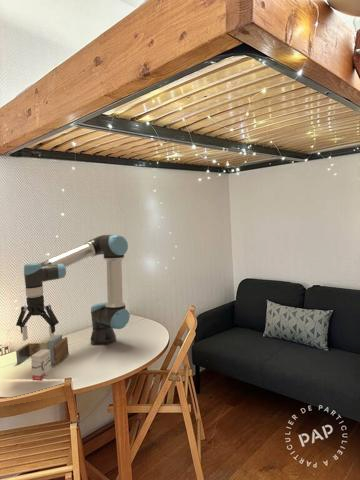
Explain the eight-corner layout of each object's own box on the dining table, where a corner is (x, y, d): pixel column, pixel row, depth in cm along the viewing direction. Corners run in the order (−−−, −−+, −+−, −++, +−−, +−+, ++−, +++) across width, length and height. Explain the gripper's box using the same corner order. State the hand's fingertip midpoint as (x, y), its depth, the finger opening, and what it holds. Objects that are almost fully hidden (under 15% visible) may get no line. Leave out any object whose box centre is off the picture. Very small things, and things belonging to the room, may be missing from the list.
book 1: (57, 356, 179) (55, 336, 178) (49, 363, 171) (47, 342, 170) (50, 356, 180) (48, 337, 179) (41, 363, 171) (39, 343, 170)
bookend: (30, 356, 181) (28, 344, 181) (20, 364, 172) (18, 350, 172) (27, 356, 181) (26, 344, 181) (17, 364, 173) (16, 351, 172)
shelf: (68, 356, 181) (67, 337, 180) (57, 367, 168) (55, 346, 168) (29, 357, 184) (27, 337, 183) (15, 367, 171) (13, 347, 170)
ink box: (41, 381, 154) (39, 356, 154) (32, 380, 155) (29, 356, 155) (52, 372, 163) (50, 348, 162) (43, 372, 164) (41, 348, 163)
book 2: (64, 356, 179) (62, 334, 178) (55, 363, 170) (53, 341, 169) (57, 356, 179) (55, 334, 178) (49, 363, 170) (47, 341, 170)
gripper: (63, 293, 159) (67, 336, 160) (15, 294, 162) (19, 337, 163) (55, 296, 151) (59, 342, 153) (5, 298, 155) (9, 342, 156)
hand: (38, 339), depth 158 cm, fingers open, 13 cm apart
